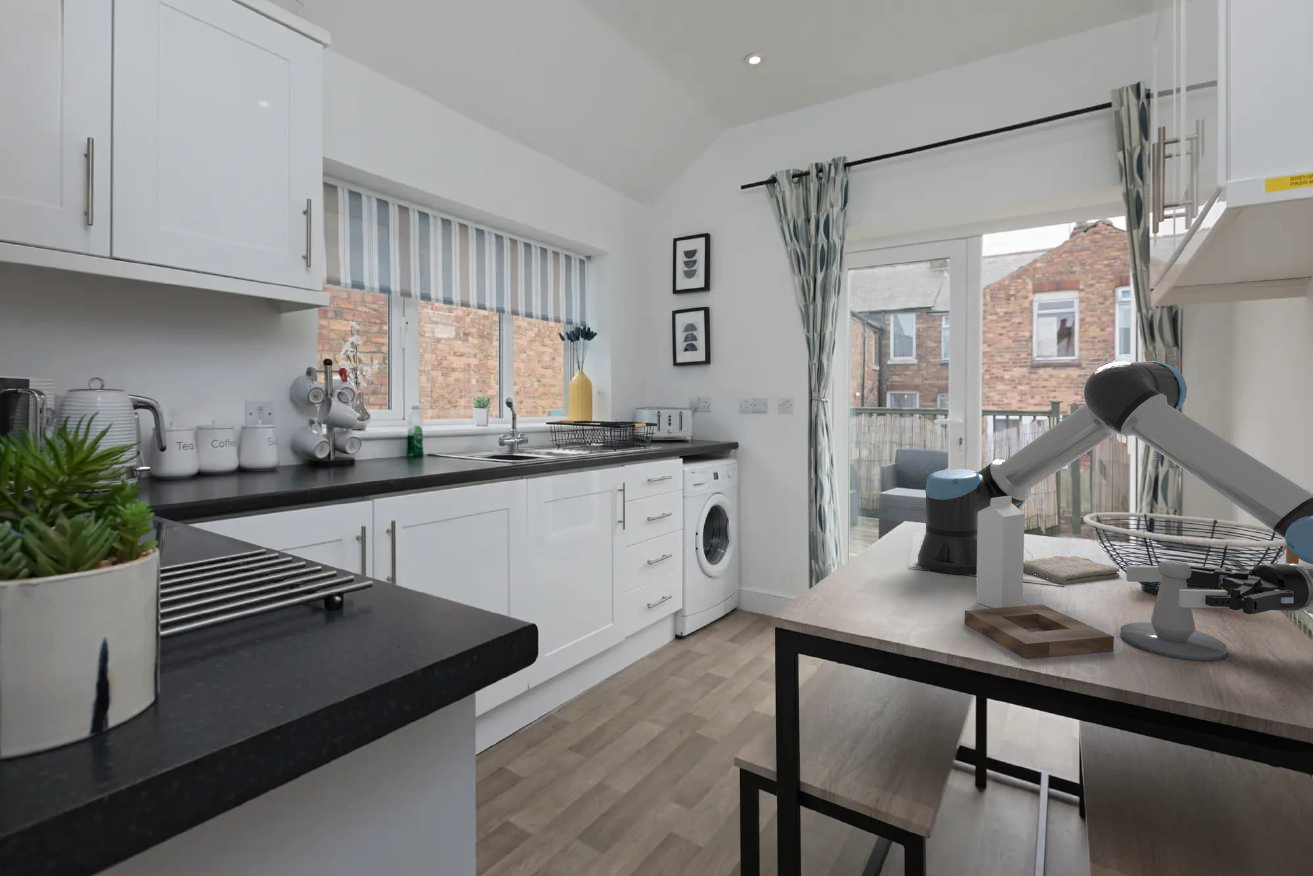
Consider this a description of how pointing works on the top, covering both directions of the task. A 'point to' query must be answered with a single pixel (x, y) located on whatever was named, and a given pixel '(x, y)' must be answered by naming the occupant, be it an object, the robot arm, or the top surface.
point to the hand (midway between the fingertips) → (1152, 585)
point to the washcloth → (1069, 569)
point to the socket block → (1054, 641)
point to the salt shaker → (1172, 603)
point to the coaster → (1173, 643)
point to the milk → (1000, 554)
